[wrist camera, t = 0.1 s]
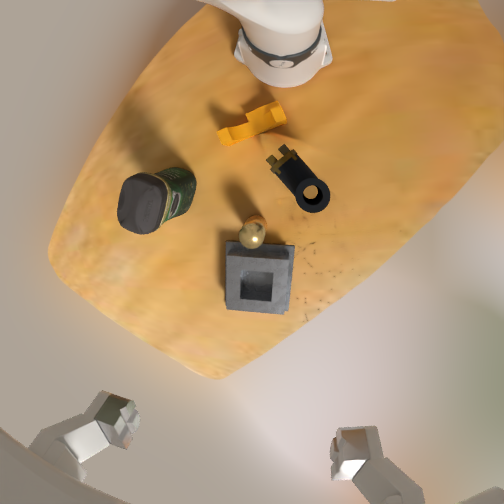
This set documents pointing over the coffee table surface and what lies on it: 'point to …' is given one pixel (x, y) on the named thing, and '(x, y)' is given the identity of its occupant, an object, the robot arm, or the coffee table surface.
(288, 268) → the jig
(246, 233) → the tan cylinder
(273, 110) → the pipe clamp
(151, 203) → the coffee jar
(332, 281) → the coffee table surface
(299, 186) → the pipe connector
